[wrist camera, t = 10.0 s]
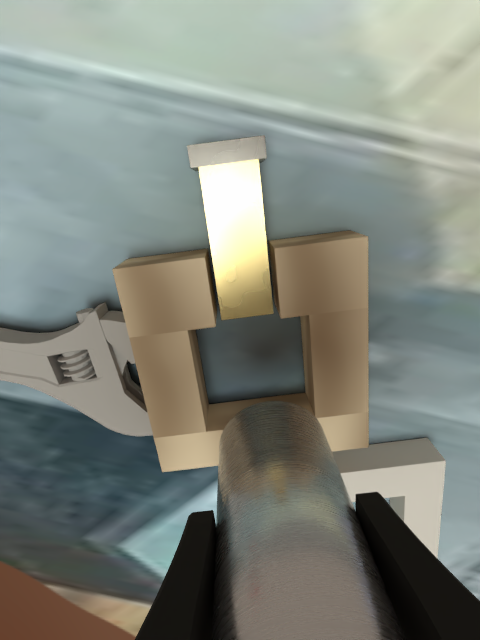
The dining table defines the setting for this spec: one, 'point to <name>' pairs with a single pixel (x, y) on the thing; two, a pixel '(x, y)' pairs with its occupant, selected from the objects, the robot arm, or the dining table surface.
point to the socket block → (201, 312)
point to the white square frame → (400, 481)
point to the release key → (236, 223)
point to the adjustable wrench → (81, 368)
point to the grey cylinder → (291, 537)
